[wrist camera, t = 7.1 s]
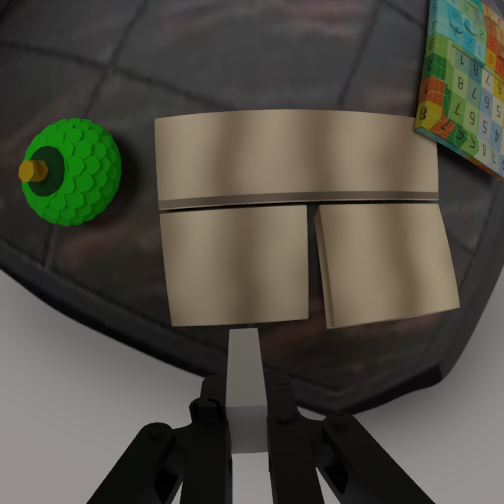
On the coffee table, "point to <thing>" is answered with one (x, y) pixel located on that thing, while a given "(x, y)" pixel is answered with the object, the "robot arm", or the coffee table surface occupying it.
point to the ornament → (71, 171)
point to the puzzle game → (464, 82)
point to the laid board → (291, 158)
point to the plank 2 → (383, 262)
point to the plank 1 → (236, 264)
